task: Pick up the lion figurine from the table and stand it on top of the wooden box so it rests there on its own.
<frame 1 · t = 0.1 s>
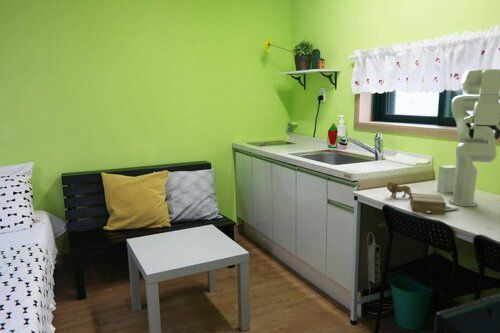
hand: (483, 138, 170), 37 cm above the table, tool pointing down, fingers open, 9 cm apart
skincare box: (446, 191, 222), on the table
lion figurine: (398, 197, 210), on the table
walnut box: (426, 209, 190), on the table
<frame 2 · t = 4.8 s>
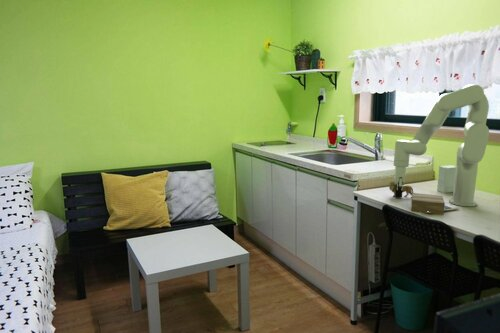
hand: (398, 195, 210), 1 cm above the table, tool pointing down, fingers closed on lion figurine, 4 cm apart
lion figurine: (400, 197, 210), on the table, touching gripper
everything else where it was.
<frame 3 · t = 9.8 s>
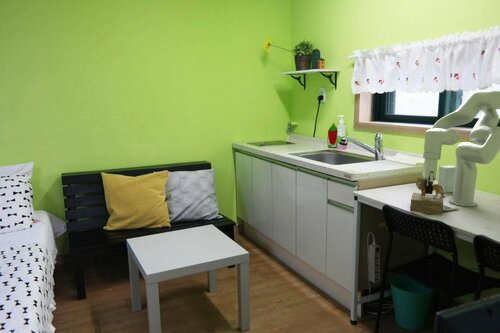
hand: (428, 192, 189), 9 cm above the table, tool pointing down, fingers closed on lion figurine, 4 cm apart
lion figurine: (428, 197, 188), point 6 cm above the table, touching gripper, walnut box
walnut box: (426, 209, 190), on the table, touching lion figurine
everything else where it was.
when the fingers open (8 cm above the table, at t = 10.1 s): lion figurine stays where it is, resting on walnut box.
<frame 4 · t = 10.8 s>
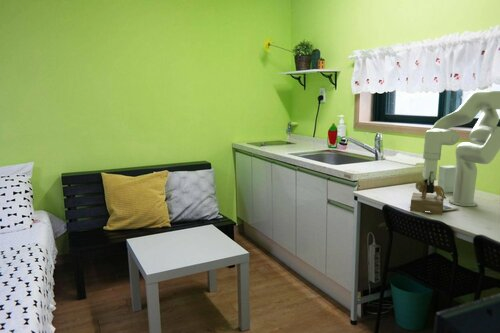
hand: (428, 190, 188), 9 cm above the table, tool pointing down, fingers open, 9 cm apart
lion figurine: (429, 199, 188), point 5 cm above the table, touching walnut box
everything else where it was.
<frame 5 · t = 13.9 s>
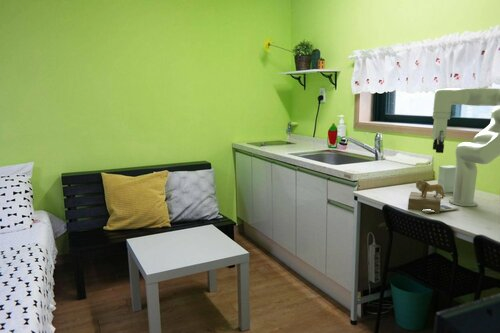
hand: (437, 151, 187), 28 cm above the table, tool pointing down, fingers open, 9 cm apart
lion figurine: (429, 197, 190), point 5 cm above the table
walnut box: (423, 208, 193), on the table
everything else where it was.
at the end: lion figurine inside the target area on the walnut box (1.9 cm from its centre), point 5.8 cm above the walnut box's base; lion figurine tilted 1°; the gripper is holding nothing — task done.
